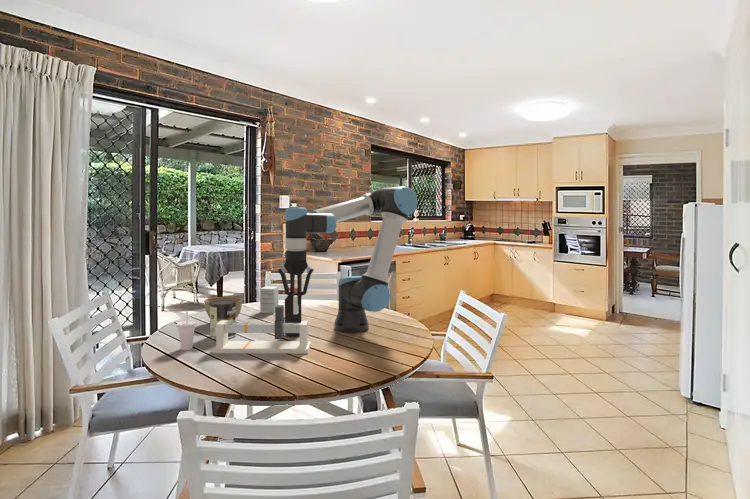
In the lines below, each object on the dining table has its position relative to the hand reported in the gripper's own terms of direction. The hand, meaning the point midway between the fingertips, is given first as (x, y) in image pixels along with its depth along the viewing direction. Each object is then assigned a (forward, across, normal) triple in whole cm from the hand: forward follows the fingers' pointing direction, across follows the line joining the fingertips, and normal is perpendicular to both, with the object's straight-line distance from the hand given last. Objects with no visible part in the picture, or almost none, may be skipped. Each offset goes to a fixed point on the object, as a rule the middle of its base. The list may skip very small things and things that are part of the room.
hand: (295, 313), depth 158 cm
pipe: (+7, +12, 0) cm, 14 cm away
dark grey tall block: (+9, +6, 0) cm, 11 cm away
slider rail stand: (+14, +12, 0) cm, 18 cm away
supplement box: (+14, +22, -61) cm, 66 cm away
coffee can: (+14, +32, -17) cm, 39 cm away
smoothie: (+14, +40, 0) cm, 42 cm away
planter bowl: (+14, +38, -37) cm, 55 cm away
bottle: (+14, +4, -19) cm, 24 cm away
